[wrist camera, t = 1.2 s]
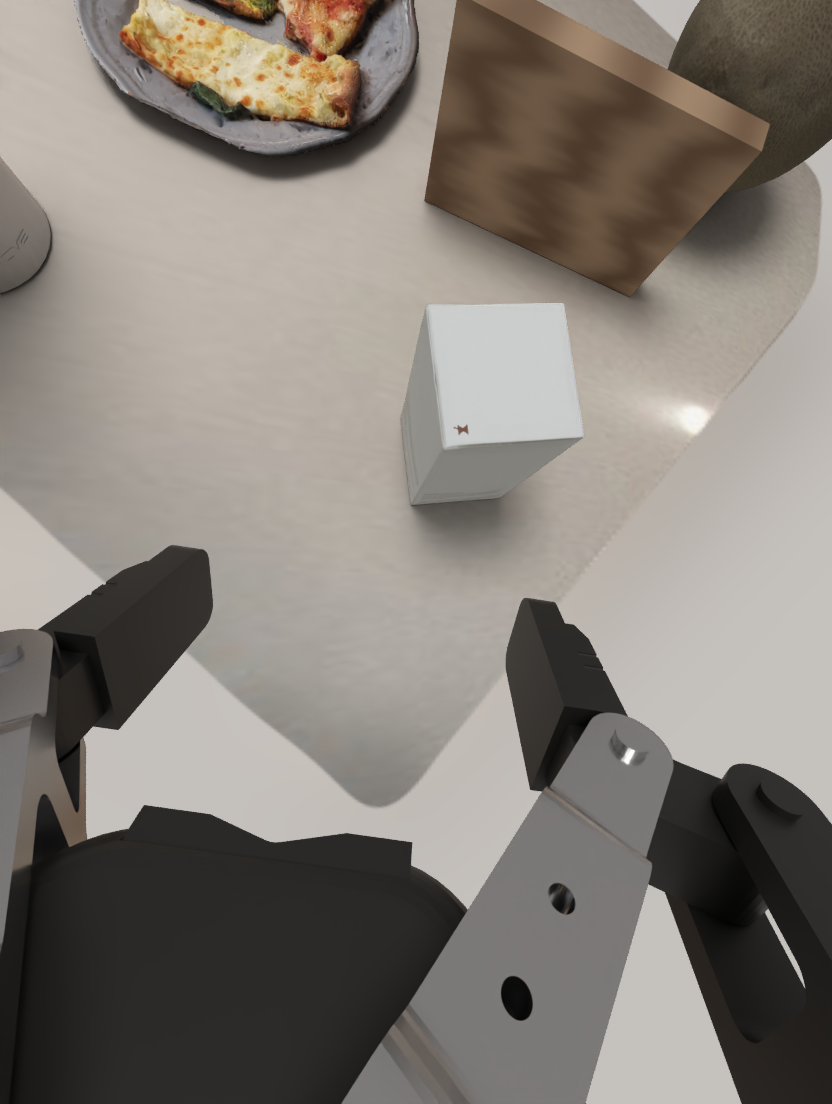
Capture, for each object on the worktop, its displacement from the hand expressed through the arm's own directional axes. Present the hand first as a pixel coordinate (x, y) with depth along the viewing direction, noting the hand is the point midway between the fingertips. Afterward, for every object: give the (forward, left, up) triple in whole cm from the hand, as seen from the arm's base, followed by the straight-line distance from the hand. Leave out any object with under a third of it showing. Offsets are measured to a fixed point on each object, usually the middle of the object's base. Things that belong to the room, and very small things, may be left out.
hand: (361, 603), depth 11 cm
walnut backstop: (-9, +32, -20) cm, 39 cm away
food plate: (-36, +29, -21) cm, 50 cm away
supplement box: (-2, +13, -20) cm, 24 cm away
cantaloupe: (-3, +48, -20) cm, 52 cm away
